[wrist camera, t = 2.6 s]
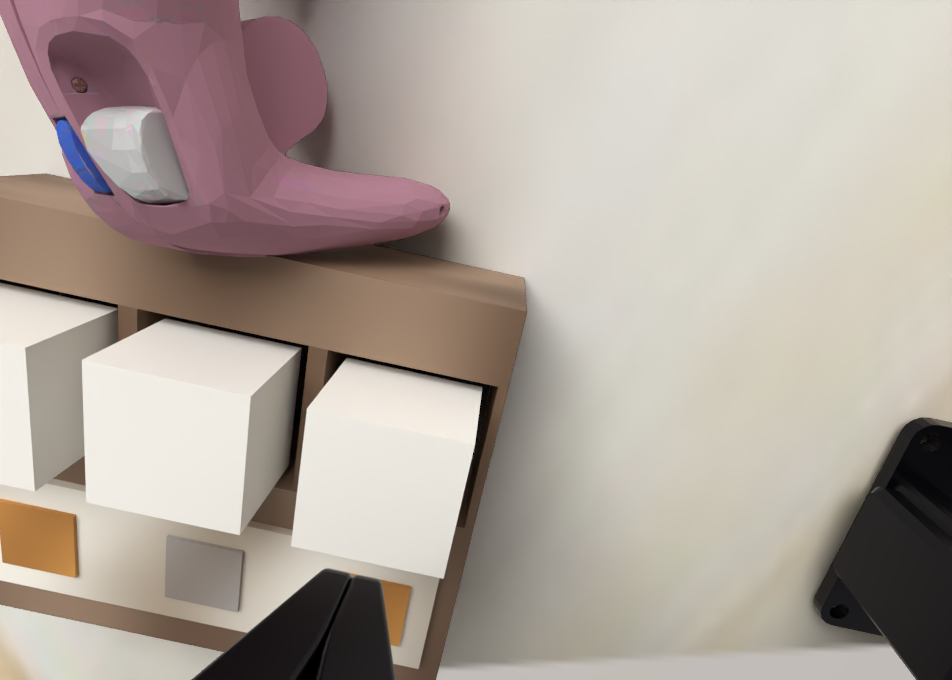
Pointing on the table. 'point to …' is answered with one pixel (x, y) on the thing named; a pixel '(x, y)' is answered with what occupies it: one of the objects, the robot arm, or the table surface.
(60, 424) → the key
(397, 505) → the key
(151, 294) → the keypad
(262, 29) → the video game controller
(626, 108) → the table surface
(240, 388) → the key middle
